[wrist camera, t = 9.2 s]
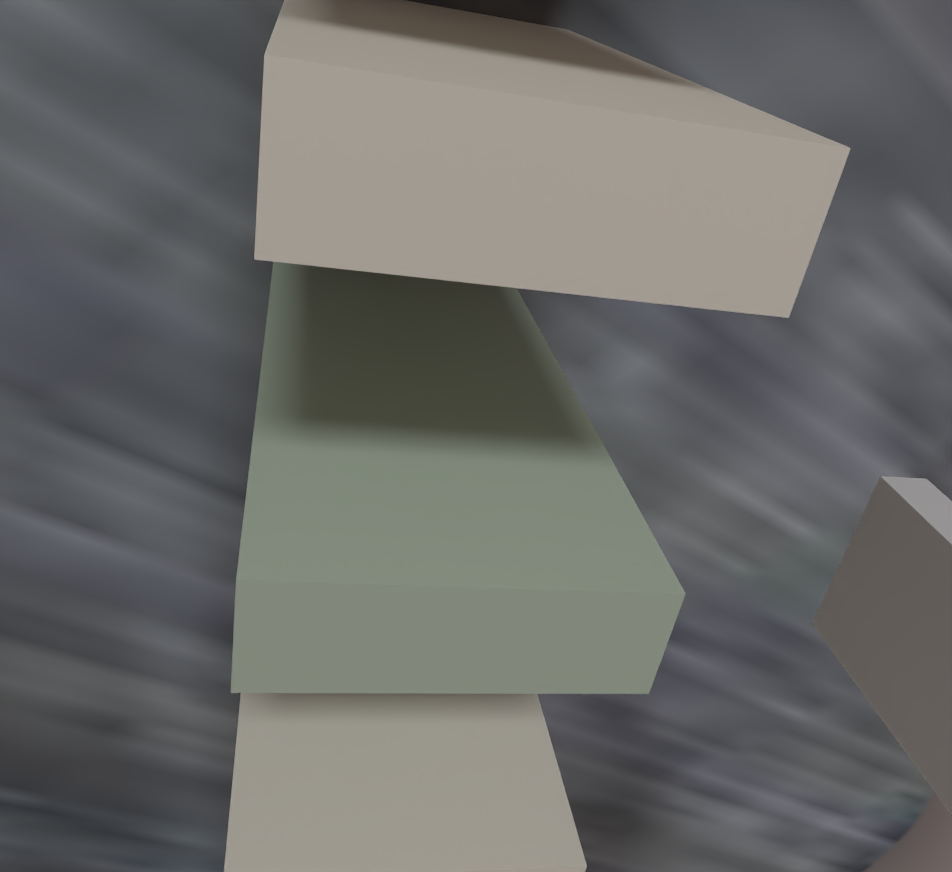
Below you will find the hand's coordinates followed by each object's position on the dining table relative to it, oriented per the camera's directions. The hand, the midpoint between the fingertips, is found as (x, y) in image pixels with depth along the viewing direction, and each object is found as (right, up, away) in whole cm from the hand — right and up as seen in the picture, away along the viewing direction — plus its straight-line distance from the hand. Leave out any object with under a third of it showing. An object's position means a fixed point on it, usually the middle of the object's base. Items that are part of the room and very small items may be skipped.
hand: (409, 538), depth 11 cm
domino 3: (-2, 0, +10) cm, 10 cm away
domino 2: (-1, +4, +7) cm, 8 cm away
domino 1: (0, +8, +5) cm, 10 cm away
